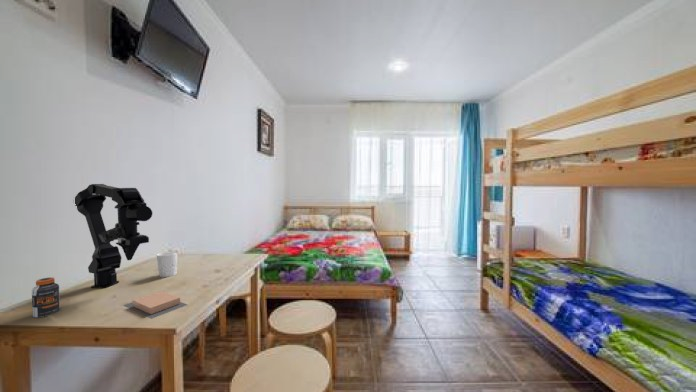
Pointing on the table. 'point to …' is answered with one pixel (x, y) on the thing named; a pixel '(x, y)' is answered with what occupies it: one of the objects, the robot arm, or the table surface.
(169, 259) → the white cup
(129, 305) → the mat
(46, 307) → the pill bottle
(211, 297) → the table surface
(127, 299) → the table surface
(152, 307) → the tile
